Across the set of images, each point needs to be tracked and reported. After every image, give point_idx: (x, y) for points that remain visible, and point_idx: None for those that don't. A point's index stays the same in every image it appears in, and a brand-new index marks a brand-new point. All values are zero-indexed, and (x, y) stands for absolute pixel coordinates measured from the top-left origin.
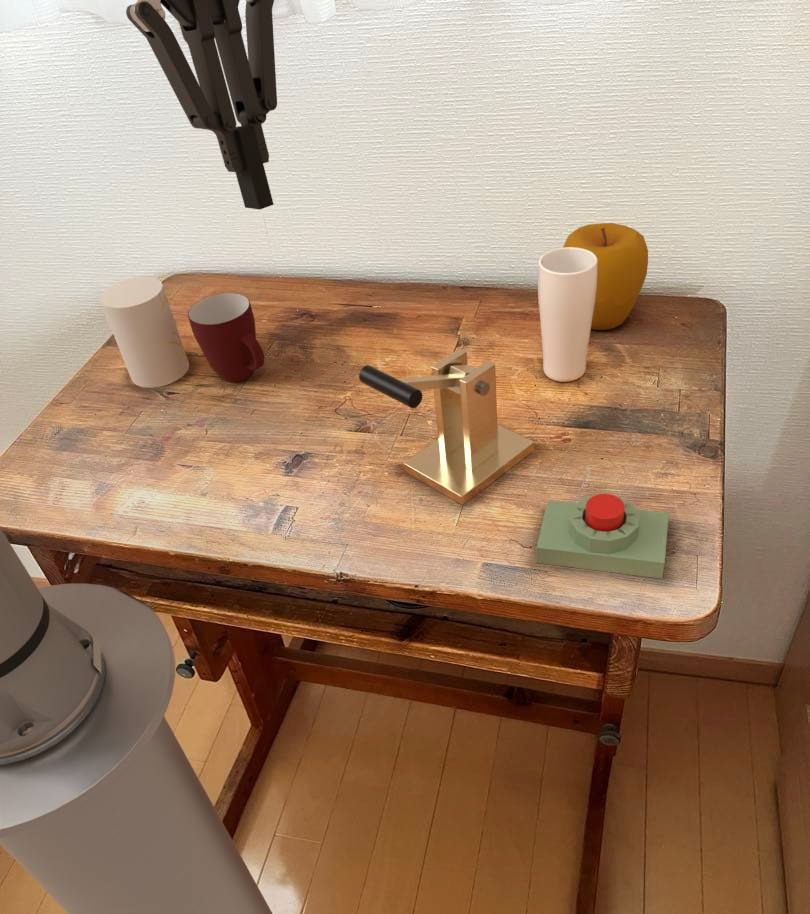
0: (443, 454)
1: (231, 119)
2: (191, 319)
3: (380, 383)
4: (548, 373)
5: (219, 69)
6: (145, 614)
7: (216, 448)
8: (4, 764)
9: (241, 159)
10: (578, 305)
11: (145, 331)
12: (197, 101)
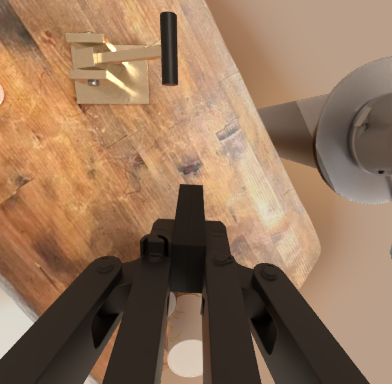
0: (125, 87)
1: (214, 264)
2: (170, 310)
3: (175, 54)
4: (2, 94)
5: (219, 363)
6: (321, 133)
7: (213, 218)
8: None
9: (206, 229)
10: None
11: (198, 324)
12: (299, 307)
